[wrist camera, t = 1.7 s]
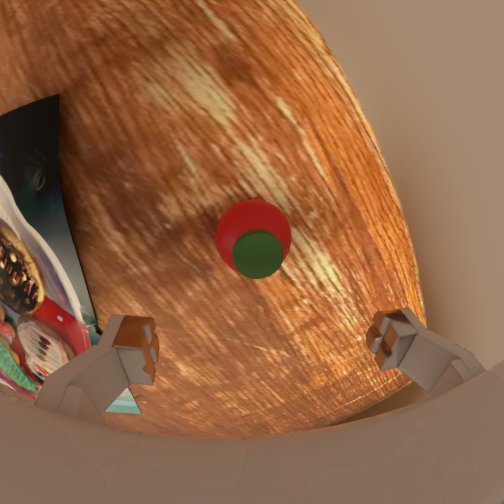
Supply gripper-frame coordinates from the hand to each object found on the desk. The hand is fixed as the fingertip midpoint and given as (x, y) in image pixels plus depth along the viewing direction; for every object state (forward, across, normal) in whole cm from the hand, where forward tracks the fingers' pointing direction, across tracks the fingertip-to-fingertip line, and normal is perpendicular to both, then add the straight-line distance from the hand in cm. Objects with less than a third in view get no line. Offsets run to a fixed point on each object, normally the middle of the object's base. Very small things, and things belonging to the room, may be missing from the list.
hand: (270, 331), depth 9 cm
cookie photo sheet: (+10, +30, +8) cm, 32 cm away
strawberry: (+10, 0, 0) cm, 10 cm away
